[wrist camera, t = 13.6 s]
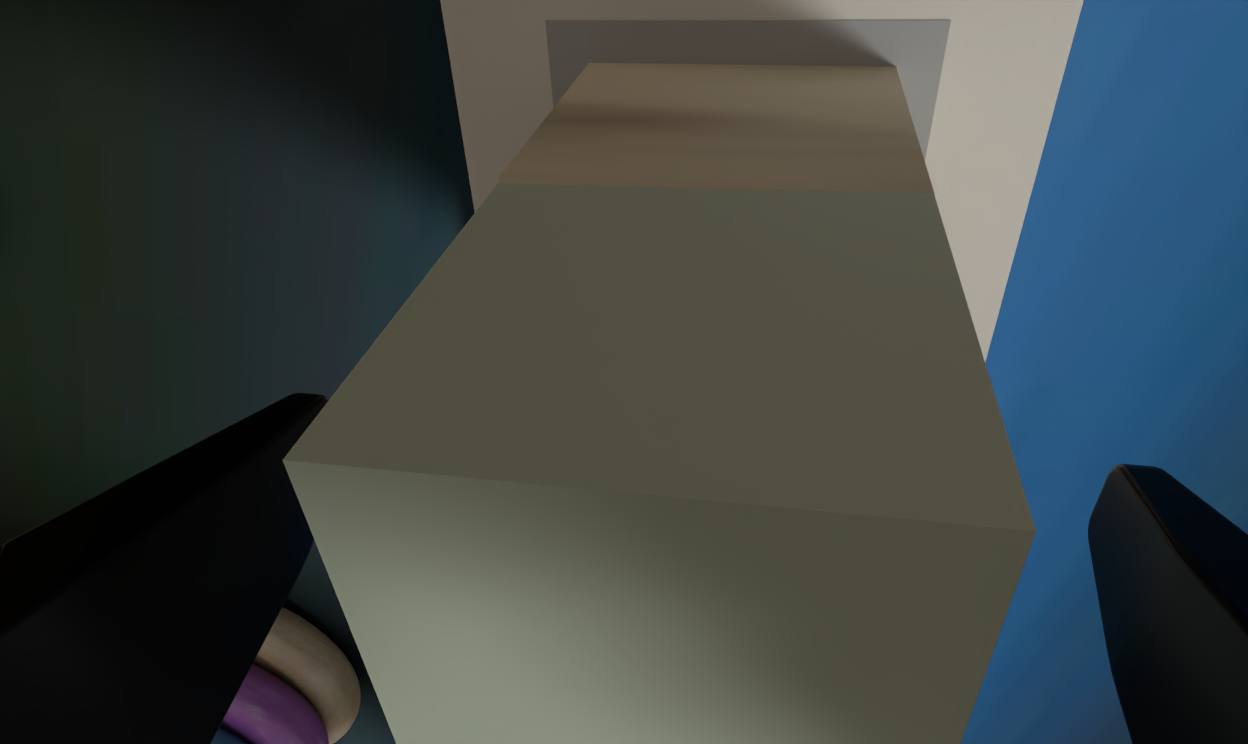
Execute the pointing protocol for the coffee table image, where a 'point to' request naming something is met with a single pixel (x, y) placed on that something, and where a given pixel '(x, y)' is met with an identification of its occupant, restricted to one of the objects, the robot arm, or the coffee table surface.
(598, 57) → the plate
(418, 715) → the block sage
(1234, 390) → the coffee table surface
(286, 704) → the stacking toy
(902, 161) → the block birch
